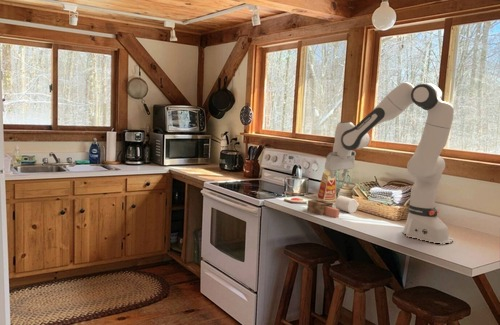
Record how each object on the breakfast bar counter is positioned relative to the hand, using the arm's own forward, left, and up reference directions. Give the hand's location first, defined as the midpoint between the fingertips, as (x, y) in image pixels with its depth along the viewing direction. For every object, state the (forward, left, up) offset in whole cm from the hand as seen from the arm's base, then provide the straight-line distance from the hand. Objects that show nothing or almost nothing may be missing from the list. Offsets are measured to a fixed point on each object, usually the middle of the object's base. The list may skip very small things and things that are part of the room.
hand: (338, 177), depth 237 cm
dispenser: (+10, +1, -21) cm, 23 cm away
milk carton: (+31, -30, -21) cm, 48 cm away
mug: (+5, -18, -21) cm, 28 cm away
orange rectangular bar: (+5, +1, -21) cm, 22 cm away
